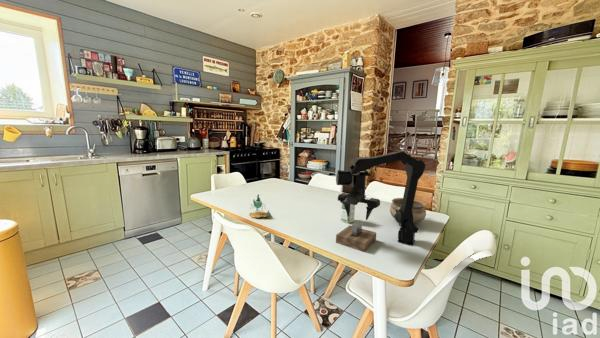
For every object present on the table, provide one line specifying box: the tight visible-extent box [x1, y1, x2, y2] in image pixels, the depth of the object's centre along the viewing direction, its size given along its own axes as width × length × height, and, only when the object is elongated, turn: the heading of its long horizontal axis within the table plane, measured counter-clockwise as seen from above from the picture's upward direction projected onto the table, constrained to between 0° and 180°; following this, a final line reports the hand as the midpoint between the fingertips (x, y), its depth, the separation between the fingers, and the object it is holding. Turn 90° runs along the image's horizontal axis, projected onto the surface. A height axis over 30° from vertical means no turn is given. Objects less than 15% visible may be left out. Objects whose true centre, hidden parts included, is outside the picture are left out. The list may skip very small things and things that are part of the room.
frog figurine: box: [248, 194, 273, 219], centre depth 145 cm, size 10×18×15 cm, turn 53°
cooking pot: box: [389, 197, 427, 225], centre depth 137 cm, size 25×19×12 cm
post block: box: [335, 225, 377, 253], centre depth 114 cm, size 14×14×4 cm
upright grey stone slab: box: [351, 220, 363, 237], centre depth 113 cm, size 2×6×8 cm, turn 143°
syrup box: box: [340, 203, 356, 224], centre depth 138 cm, size 6×6×14 cm
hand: (357, 217), depth 112 cm, fingers open, 9 cm apart
